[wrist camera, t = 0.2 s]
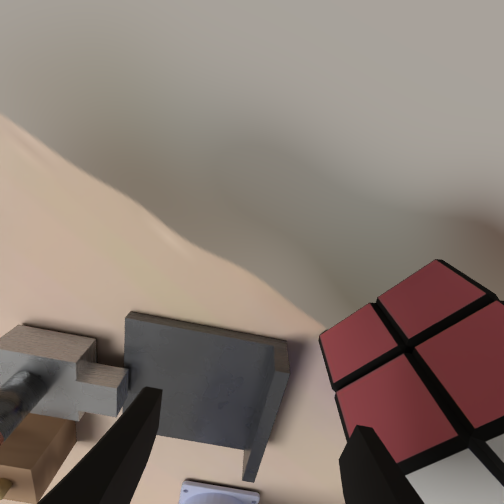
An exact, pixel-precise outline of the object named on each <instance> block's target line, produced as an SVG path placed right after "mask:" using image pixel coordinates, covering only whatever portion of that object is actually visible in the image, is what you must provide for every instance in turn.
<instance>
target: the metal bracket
mask: <svg viewBox="0 0 504 504" xmlns="http://www.w3.org/2000/svg"><path fill="white" fill-rule="evenodd" d="M124 368H125V369H129V370H128V397H127V399H126V400H125V402H124V404H123V413H124V412H125V410H126V409H127V408H128V407H129V405H130V404H131V403H132V402H133V400H134V399H135V398H136V396H137V395H138V394H139V392H140V391H141V390H142V388H144V387H146V386H147V387H153V388H158V389H163V392H162V401H161V411H160V420H159V428H158V431H157V434H156V435H160V436H166V437H172V438H178V439H184V440H189V441H195V442H201V443H207V444H213V445H218V446H224V447H230V448H236V449H242V450H244V458H243V474H242V481H247V482H253V483H254V481H255V478H256V475H257V472H258V469H259V466H260V463H261V460H262V457H263V454H264V451H265V448H266V445H267V442H268V439H269V436H270V433H271V430H272V427H273V424H274V421H275V418H276V415H277V412H278V409H279V406H280V403H281V400H282V397H283V394H284V391H285V388H286V385H287V382H288V379H289V376H290V369H289V360H288V351H287V343H286V341H284V340H279V339H273V338H268V337H263V336H257V335H252V334H247V333H241V332H236V331H231V330H225V329H220V328H215V327H209V326H204V325H199V324H194V323H188V322H183V321H178V320H172V319H167V318H162V317H156V316H151V315H146V314H140V313H135V312H130V313H129V314H128V315H127V316H126V318H125V344H124Z"/></svg>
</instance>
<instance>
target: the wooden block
mask: <svg viewBox="0 0 504 504" xmlns="http://www.w3.org/2000/svg"><path fill="white" fill-rule="evenodd" d="M76 442H77V439H76V424H75V421H74V420H68V419H62V418H56V417H51V416H45V415H39V414H33V413H29V414H28V415H27V416H26V417H25V419H24V420H23V421H22V422H21V423H20V424H19V425H18V427H17V428H16V429H15V430H14V431H13V432H12V433H11V435H10V436H9V437H8V438H7V439H6V440H5V441H4V443H3V444H2V445H1V446H0V500H2V499H7V500H13V501H19V502H26V503H32V504H37V503H38V502H39V500H40V499H41V497H42V496H43V494H44V492H45V491H46V489H47V488H48V486H49V484H50V483H51V481H52V480H53V478H54V476H55V475H56V473H57V472H58V470H59V469H60V467H61V465H62V464H63V462H64V461H65V459H66V457H67V456H68V454H69V453H70V451H71V449H72V448H73V446H74V445H75V443H76Z"/></svg>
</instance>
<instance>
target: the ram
mask: <svg viewBox="0 0 504 504" xmlns="http://www.w3.org/2000/svg"><path fill="white" fill-rule="evenodd" d="M128 370H129V369H125V368H120V367H114V366H109V365H103V364H98V363H97V358H96V339H94V338H89V337H83V336H78V335H72V334H67V333H61V332H56V331H51V330H45V329H40V328H34V327H29V326H23V325H17V326H16V327H14V328H13V329H12V330H10V331H9V332H8V333H6V334H5V335H4V336H2V337H1V338H0V446H1V445H2V444H3V443H4V441H5V440H6V439H7V438H8V437H9V436H10V435H11V433H12V432H13V431H14V430H15V429H16V428H17V427H18V425H19V424H20V423H21V422H22V421H23V420H24V419H25V417H26V416H27V415H28V414H29V413H33V414H39V415H45V416H51V417H56V418H62V419H68V420H74V421H80V419H81V418H82V416H83V415H84V413H85V412H89V413H95V414H100V415H106V416H112V417H117V415H118V413H119V412H120V410H121V408H122V406H123V404H124V402H125V400H126V399H127V397H128Z"/></svg>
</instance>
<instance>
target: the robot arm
mask: <svg viewBox="0 0 504 504" xmlns="http://www.w3.org/2000/svg"><path fill="white" fill-rule="evenodd" d="M162 392H163V389H158V388H153V387H147V386H146V387H144V388H142V390H141V391H140V392H139V394H138V395H137V396H136V398H135V399H134V400H133V402H132V403H131V404H130V405H129V407H128V408H127V409H126V410H125V412H124V413H123V414H122V415H121V416H120V418H119V419H118V420H117V421H116V422H115V423H114V425H113V426H112V427H111V428H110V429H109V430H108V431H107V432H106V434H105V435H104V436H103V437H102V438H101V439H100V440H99V441H98V442H97V444H96V445H95V446H94V447H93V448H92V449H91V450H90V451H89V452H88V453H87V454H86V455H85V456H84V457H83V458H82V459H81V460H80V461H79V463H78V464H77V465H76V466H75V467H74V468H73V469H72V470H71V471H70V472H69V473H68V474H67V475H66V476H65V477H64V478H63V479H62V480H61V481H60V482H59V483H58V484H57V485H56V486H55V487H54V488H53V489H52V490H51V491H50V492H49V493H48V494H46V495H45V496H44V497H43V498H42V499H41V500H40V501H39V502H38V503H37V504H130V502H131V499H132V497H133V495H134V492H135V490H136V488H137V485H138V483H139V481H140V478H141V476H142V474H143V471H144V469H145V466H146V464H147V462H148V459H149V456H150V453H151V450H152V447H153V444H154V441H155V438H156V434H157V431H158V428H159V420H160V411H161V401H162ZM339 466H340V473H341V481H342V487H343V494H344V499H345V503H346V504H425V503H424V502H423V500H422V499H421V498H420V496H419V495H418V493H417V492H416V491H415V489H414V488H413V486H412V485H411V483H410V482H409V481H408V479H407V478H406V476H405V475H404V473H403V472H402V470H401V469H400V467H399V466H398V464H397V463H396V462H395V460H394V459H393V457H392V456H391V454H390V453H389V451H388V450H387V448H386V447H385V445H384V444H383V442H382V441H381V439H380V438H379V436H378V435H377V433H376V432H375V431H374V429H373V428H372V427H367V426H361V425H356V426H355V428H354V430H353V432H352V434H351V436H350V438H349V440H348V442H347V444H346V446H345V448H344V450H343V452H342V454H341V456H340V458H339ZM259 500H260V495H259V493H257V492H252V491H246V490H240V489H234V488H228V487H222V486H216V485H210V484H204V483H198V482H192V481H184V482H183V483H182V487H181V493H180V499H179V504H258V503H259Z"/></svg>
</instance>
